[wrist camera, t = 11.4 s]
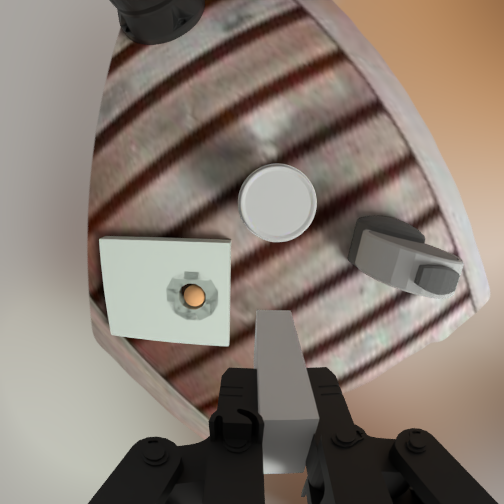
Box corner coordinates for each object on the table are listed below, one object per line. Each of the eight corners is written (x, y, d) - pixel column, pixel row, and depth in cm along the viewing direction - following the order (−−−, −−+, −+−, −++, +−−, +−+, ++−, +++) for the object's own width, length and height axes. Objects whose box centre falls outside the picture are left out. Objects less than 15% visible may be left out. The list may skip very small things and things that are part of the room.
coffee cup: (232, 213, 46) (225, 226, 34) (254, 157, 44) (255, 150, 32) (287, 235, 47) (299, 255, 35) (310, 180, 45) (330, 182, 33)
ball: (179, 285, 47) (191, 294, 45) (196, 279, 49) (209, 287, 47) (180, 303, 48) (192, 313, 46) (196, 296, 51) (209, 305, 48)
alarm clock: (335, 266, 48) (376, 314, 31) (349, 206, 46) (402, 225, 28) (412, 280, 49) (469, 323, 31) (427, 227, 47) (493, 252, 29)
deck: (116, 328, 51) (111, 334, 49) (105, 235, 47) (99, 238, 44) (229, 338, 52) (228, 346, 49) (231, 239, 47) (230, 243, 45)
